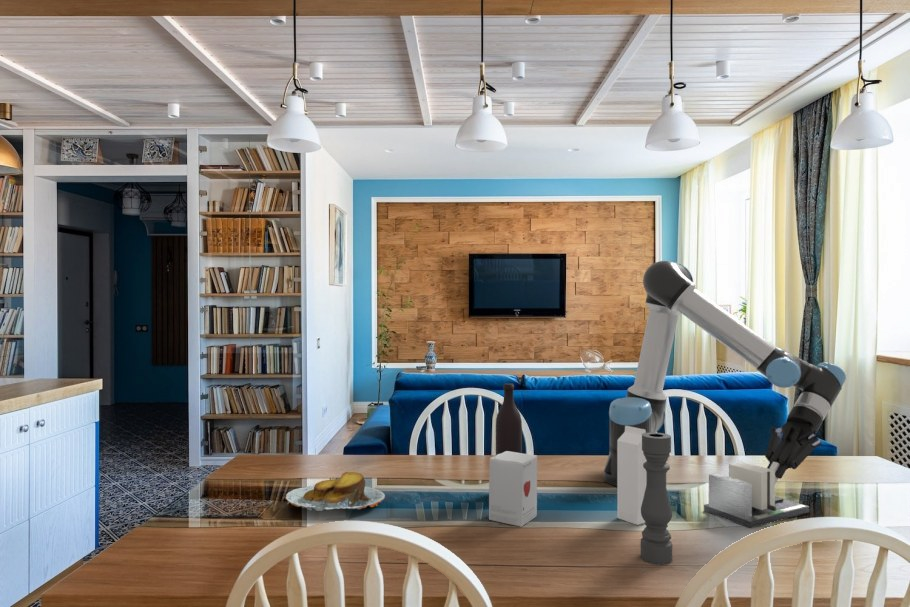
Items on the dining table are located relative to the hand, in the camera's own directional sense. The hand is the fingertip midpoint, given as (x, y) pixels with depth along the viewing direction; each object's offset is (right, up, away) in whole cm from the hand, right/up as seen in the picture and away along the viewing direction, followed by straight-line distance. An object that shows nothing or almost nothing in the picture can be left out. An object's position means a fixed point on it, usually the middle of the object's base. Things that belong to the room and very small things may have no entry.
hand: (766, 486), depth 153 cm
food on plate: (-109, -7, +5) cm, 109 cm away
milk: (-35, -6, -7) cm, 36 cm away
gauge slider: (-5, -4, -3) cm, 7 cm away
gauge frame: (-3, -6, -2) cm, 7 cm away
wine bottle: (-64, -6, +12) cm, 65 cm away
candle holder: (-37, -6, -29) cm, 47 cm away
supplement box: (-64, -6, -6) cm, 65 cm away
